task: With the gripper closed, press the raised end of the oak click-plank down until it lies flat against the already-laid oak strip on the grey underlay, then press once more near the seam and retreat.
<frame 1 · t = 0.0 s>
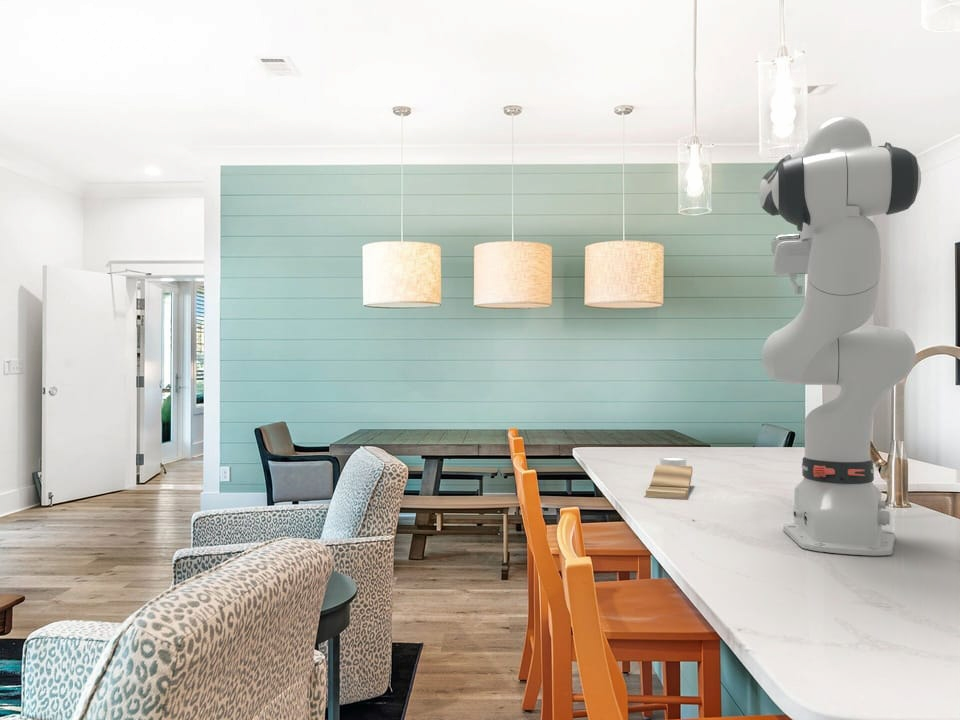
hand: (821, 293, 165), 48 cm above the table, fingers open, 8 cm apart
underlay: (670, 495, 178), on the table
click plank: (671, 478, 181), point 4 cm above the table, hinge at 17.4°
white ramekin cup: (673, 485, 193), on the table
laid strip: (667, 500, 172), resting on underlay
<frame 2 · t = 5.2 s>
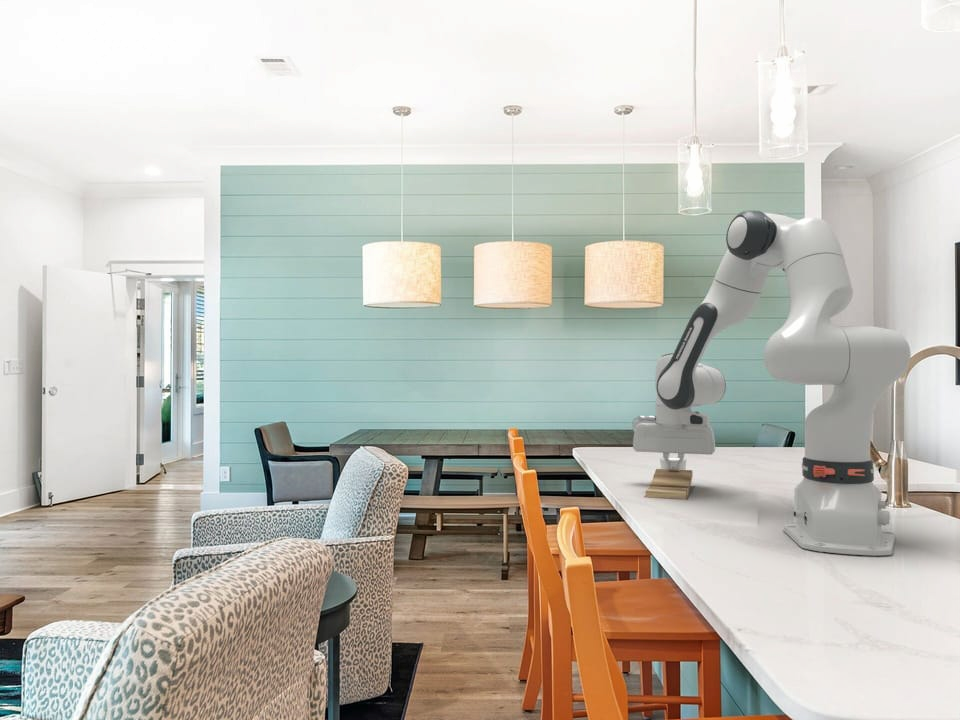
hand: (673, 470, 185), 5 cm above the table, fingers closed, pressing on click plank
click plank: (671, 480, 181), point 3 cm above the table, hinge at 12.1°, touching gripper
everything else where it was.
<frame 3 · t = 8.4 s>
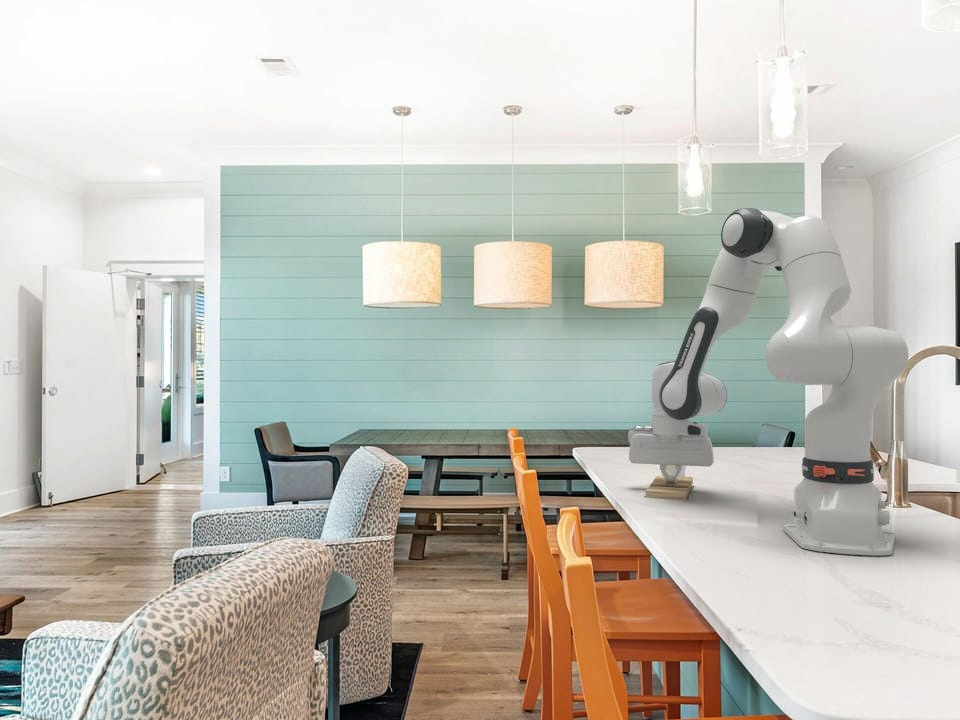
hand: (671, 483, 179), 3 cm above the table, fingers closed, pressing on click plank
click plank: (671, 483, 181), point 2 cm above the table, hinge at 3.2°, touching gripper
everything else where it was.
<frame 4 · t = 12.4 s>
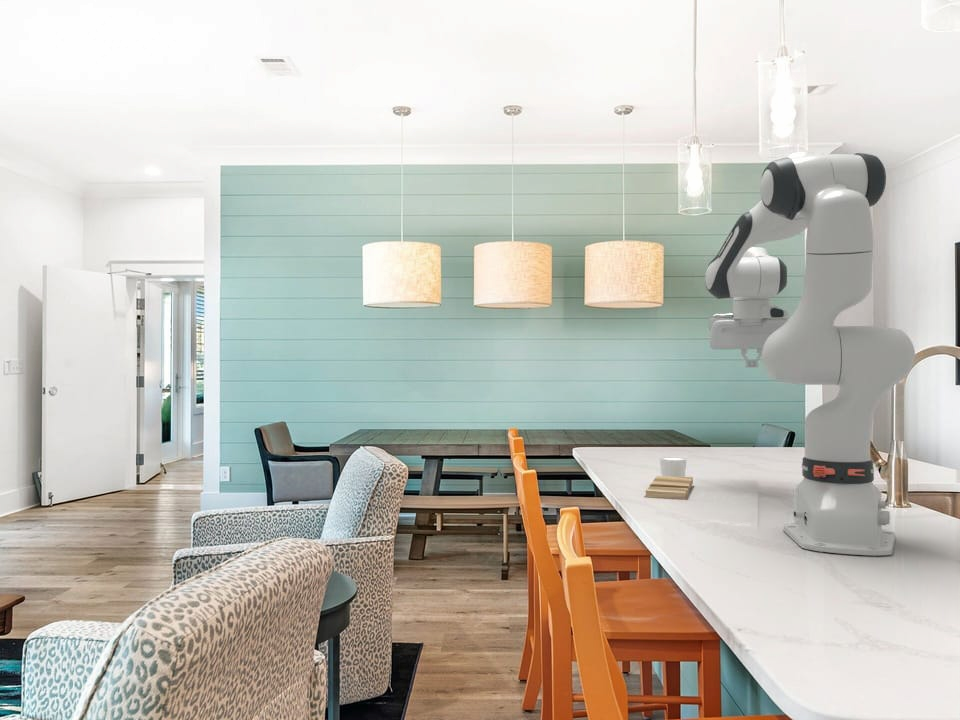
hand: (752, 367, 183), 31 cm above the table, fingers closed
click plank: (671, 483, 181), point 2 cm above the table, hinge at 3.1°
everything else where it was.
at the end: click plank at +3° (first picture: +17°) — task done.
